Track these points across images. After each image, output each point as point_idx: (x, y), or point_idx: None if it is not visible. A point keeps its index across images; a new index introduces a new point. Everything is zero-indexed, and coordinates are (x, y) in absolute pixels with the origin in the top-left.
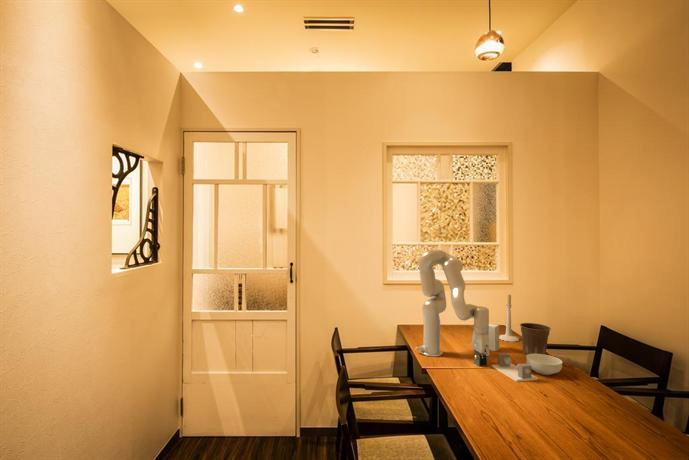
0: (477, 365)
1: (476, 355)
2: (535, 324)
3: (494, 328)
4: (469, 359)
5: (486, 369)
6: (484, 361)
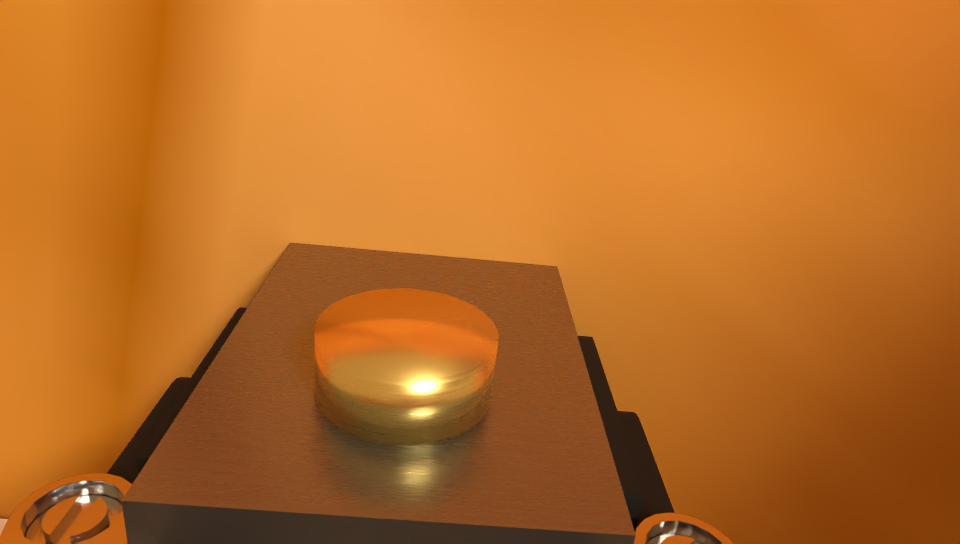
0: (364, 252)
1: (405, 451)
2: None
3: None
4: (882, 341)
5: (19, 302)
6: None
